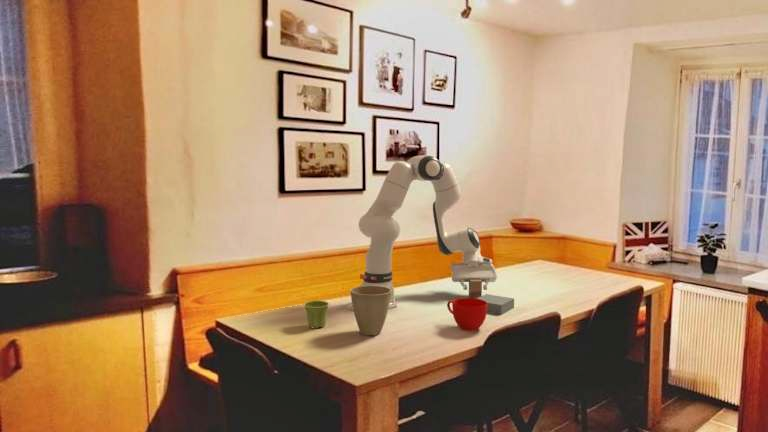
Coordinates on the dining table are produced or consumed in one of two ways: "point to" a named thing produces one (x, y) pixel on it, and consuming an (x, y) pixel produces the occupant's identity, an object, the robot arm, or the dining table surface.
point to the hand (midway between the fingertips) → (475, 289)
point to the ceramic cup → (468, 312)
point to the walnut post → (475, 288)
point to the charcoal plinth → (498, 303)
